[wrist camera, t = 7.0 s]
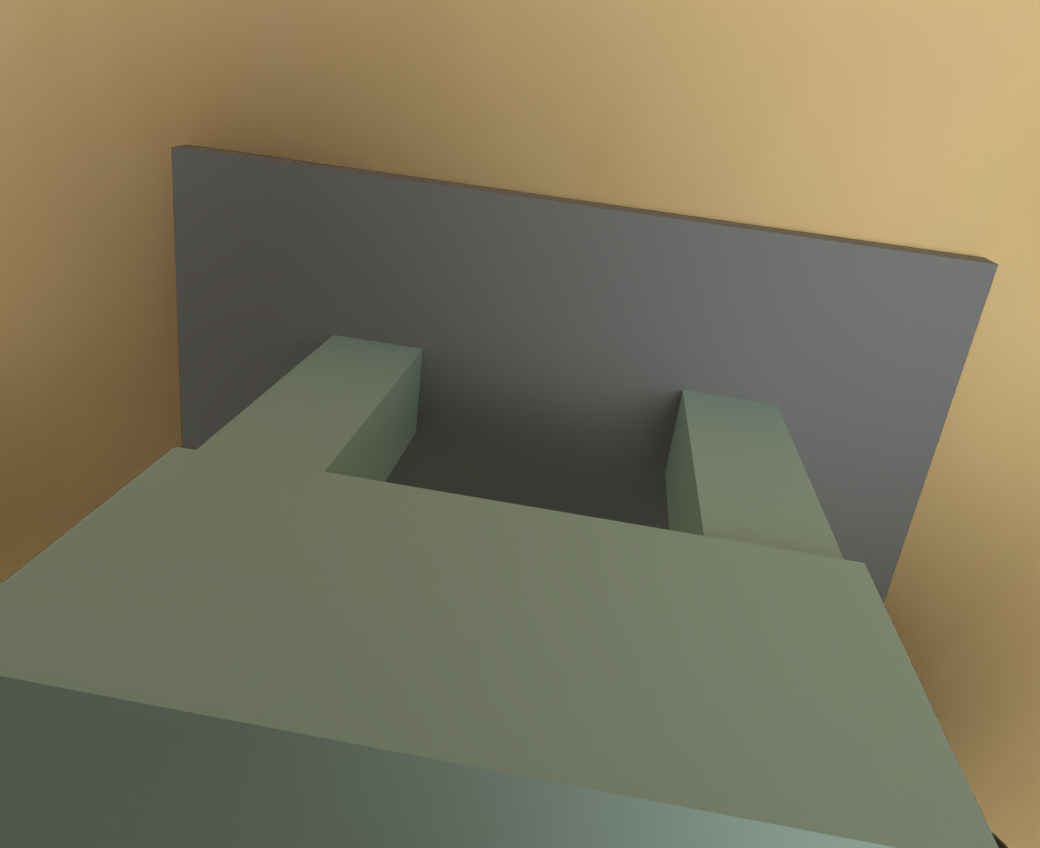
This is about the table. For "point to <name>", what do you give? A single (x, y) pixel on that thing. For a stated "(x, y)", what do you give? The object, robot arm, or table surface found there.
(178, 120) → the table surface
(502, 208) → the mat
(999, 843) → the robot arm
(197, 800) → the notched green block
